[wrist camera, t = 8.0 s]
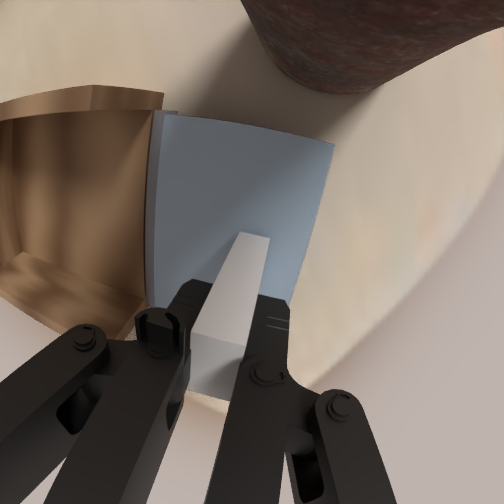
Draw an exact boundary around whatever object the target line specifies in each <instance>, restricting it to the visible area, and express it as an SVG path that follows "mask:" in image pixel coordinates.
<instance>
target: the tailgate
mask: <svg viewBox="0 0 504 504" xmlns="http://www.w3.org/2000/svg"><path fill="white" fill-rule="evenodd" d="M177 113H178V111H166V110H155V111H154V118H153V125H152V134H151V142H150V152H149V163H148V176H147V191H146V214H145V278H146V300H147V305H148V306H149V307H151V308H154V307H161V308H167V307H168V306H169V304H170V303H171V302H172V300H173V298H174V297H175V295H176V294H177V292H178V290H179V289H180V287H181V286H182V284H184V283H186V282H187V281H189V280H191V279H192V278H193V279H197V280H201V281H204V282H208V283H212V284H214V282H215V280H216V278H217V276H218V274H219V272H220V270H221V268H222V266H223V264H224V262H225V260H226V258H227V256H228V254H229V252H230V250H231V248H232V246H233V244H234V242H235V240H236V238H237V236H238V234H239V232H240V231H241V232H245V233H249V234H254V235H258V236H262V237H266V238H270V241H269V246H268V251H267V255H266V260H265V264H264V269H263V274H262V278H261V283H260V287H259V292H258V294H261V295H265V296H269V297H274V298H278V299H283V300H285V301H286V303H287V305H288V307H289V304H290V301H291V298H292V295H293V292H294V289H295V286H296V283H297V279H298V276H299V273H300V270H301V267H302V263H303V260H304V257H305V254H306V250H307V247H308V244H309V240H310V237H311V234H312V230H313V227H314V223H315V220H316V216H317V213H318V209H319V205H320V202H321V198H322V194H323V191H324V187H325V183H326V179H327V175H328V172H329V168H330V164H331V160H332V156H333V152H334V147H335V145H334V144H331V143H327V142H323V141H320V140H316V139H312V138H308V137H304V136H300V135H296V134H292V133H287V132H283V131H278V130H274V129H269V128H264V127H259V126H253V125H248V124H242V123H236V122H230V121H223V120H216V119H209V118H200V117H192V116H182V115H177Z"/></svg>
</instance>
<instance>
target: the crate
mask: <svg viewBox="0 0 504 504" xmlns="http://www.w3.org/2000/svg"><path fill="white" fill-rule="evenodd" d="M163 97H164V93H161V92H154V91H148V90H141V89H133V88H124V87H114V86H103V85H87V86H79V87H72V88H65V89H59V90H53V91H48V92H43V93H38V94H34V95H29V96H25V97H21V98H17V99H13V100H10V101H6V102H3V103H0V296H1V297H2V298H4V299H5V300H7V301H8V302H9V303H11V304H12V305H14V306H15V307H17V308H18V309H20V310H21V311H23V312H24V313H26V314H27V315H29V316H31V317H32V318H34V319H35V320H37V321H39V322H40V323H42V324H44V325H45V326H47V327H49V328H50V329H52V330H54V331H56V332H57V333H59V334H61V335H62V334H64V333H65V332H66V331H68V330H69V329H70V328H72V327H74V326H76V325H80V324H93V325H96V326H98V327H100V328H101V329H102V330H103V331H104V332H105V334H106V338H107V339H113V340H123V341H124V340H125V338H126V337H127V335H128V334H129V333H130V331H131V330H132V328H133V327H134V326H135V319H134V317H135V316H136V315H137V314H138V313H139V312H140V311H143V310H145V309H147V308H148V305H147V300H146V278H145V214H146V191H147V176H148V163H149V152H150V142H151V134H152V125H153V118H154V111H155V110H161V109H162V103H163Z"/></svg>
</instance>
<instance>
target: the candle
mask: <svg viewBox="0 0 504 504" xmlns="http://www.w3.org/2000/svg"><path fill="white" fill-rule="evenodd" d="M241 2H242V4H243V6H244V8H245V10H246V12H247V14H248V16H249V18H250V20H251V22H252V24H253V26H254V28H255V30H256V32H257V34H258V36H259V38H260V40H261V42H262V44H263V46H264V48H265V50H266V52H267V53H268V55H269V56H270V57H271V59H272V60H273V61H274V62H275V64H276V65H277V66H278V68H279V69H280V70H281V71H282V72H283V73H284V74H285V75H287V76H289V77H290V78H292V79H293V80H295V81H296V82H298V83H299V84H301V85H304V86H306V87H309V88H311V89H314V90H318V91H323V92H327V93H331V94H347V95H349V94H357V93H361V92H364V91H367V90H370V89H373V88H376V87H378V86H380V85H382V84H384V83H386V82H388V81H390V80H392V79H393V78H395V77H397V76H399V75H401V74H403V73H405V72H407V71H409V70H410V69H412V68H414V67H416V66H418V65H420V64H421V63H423V62H425V61H427V60H429V59H431V58H433V57H435V56H437V55H439V54H441V53H443V52H445V51H447V50H449V49H451V48H453V47H455V46H457V45H459V44H461V43H464V42H466V41H468V40H470V39H472V38H474V37H476V36H478V35H481V34H483V33H486V32H489V31H491V30H494V29H497V28H500V27H504V0H241Z"/></svg>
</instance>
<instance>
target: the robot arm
mask: <svg viewBox="0 0 504 504" xmlns="http://www.w3.org/2000/svg"><path fill="white" fill-rule="evenodd" d="M269 241H270V238H266V237H262V236H258V235H254V234H249V233H245V232H241V231H240V232H239V234H238V236H237V238H236V240H235V242H234V244H233V246H232V248H231V250H230V252H229V254H228V256H227V258H226V260H225V262H224V264H223V266H222V268H221V270H220V272H219V274H218V276H217V278H216V280H215V282H214V284H212V283H208V282H204V281H201V280H197V279H193V278H192V279H191V280H189V281H187V282H186V283H184V284H182V286H181V287H180V289H179V290H178V292H177V294H176V295H175V297H174V298H173V300H172V302H171V303H170V304H169V306H168V307H167V308H161V307H154V308H148V309H145V310H143V311H140V312H139V313H138V314H137V315H136V316H135V317H134V319H135V328H136V336H137V340H133V341H123V340H113V339H107V338H106V334H105V332H104V331H103V330H102V329H101V328H100V327H98V326H96V325H93V324H80V325H76V326H74V327H72V328H70V329H69V330H68V331H66V332H65V333H64V334H62V335H61V336H60V337H58V338H57V339H56V340H54V341H53V342H52V343H50V344H49V345H48V346H46V347H45V348H44V349H42V350H41V351H40V352H38V353H37V354H36V355H34V356H33V357H32V358H31V359H29V360H28V361H27V362H25V363H24V364H23V365H22V366H21V367H19V368H18V369H17V370H15V371H14V372H13V373H12V374H10V375H9V376H8V377H7V378H5V379H4V380H3V381H2V382H0V504H20V503H21V502H22V501H23V500H24V499H25V498H26V497H27V496H28V495H29V494H30V493H31V492H32V491H33V490H34V489H35V488H36V487H37V486H38V485H39V484H40V483H41V482H42V481H43V480H44V479H45V478H46V477H47V476H48V475H49V474H50V473H51V472H52V471H53V470H54V469H55V468H56V467H57V466H58V465H59V464H60V463H61V462H62V461H63V460H64V459H65V458H66V457H67V458H66V460H65V462H64V463H63V465H62V467H61V469H60V471H59V473H58V475H57V477H56V479H55V481H54V483H53V485H52V487H51V489H50V491H49V493H48V495H47V497H46V499H45V501H44V503H43V504H146V502H147V499H148V496H149V494H150V491H151V489H152V486H153V483H154V480H155V478H156V475H157V472H158V470H159V467H160V464H161V462H162V459H163V457H164V454H165V451H166V449H167V446H168V443H169V441H170V438H171V435H172V433H173V430H174V428H175V425H176V422H177V420H178V417H179V414H180V412H181V409H182V407H183V403H184V394H185V391H186V388H187V386H188V390H190V391H194V392H197V393H201V394H204V395H208V396H211V397H215V398H219V399H223V400H227V401H230V404H229V408H228V413H227V416H226V420H225V424H224V429H223V432H222V436H221V440H220V444H219V448H218V452H217V456H216V459H215V463H214V467H213V471H212V475H211V479H210V482H209V486H208V490H207V494H206V497H205V501H204V504H278V503H279V497H280V488H281V480H282V472H283V463H284V453H285V455H286V460H287V465H288V471H289V476H290V482H291V487H292V493H293V498H294V503H295V504H397V503H396V500H395V496H394V493H393V490H392V488H391V484H390V481H389V478H388V475H387V473H386V470H385V467H384V464H383V461H382V458H381V455H380V453H379V450H378V447H377V444H376V442H375V439H374V436H373V433H372V431H371V428H370V425H369V423H368V420H367V418H366V415H365V412H364V410H363V407H362V405H361V404H360V402H359V400H358V399H357V398H356V397H355V396H353V395H352V394H351V393H349V392H346V391H344V390H338V389H331V390H328V391H325V392H323V393H322V394H321V395H320V394H318V393H315V392H313V391H311V390H308V389H306V388H304V387H303V386H301V385H299V384H298V383H297V382H296V381H295V380H293V378H292V377H291V375H290V374H289V371H288V369H287V353H288V338H289V321H290V309H289V307H288V305H287V303H286V301H285V300H283V299H278V298H274V297H269V296H265V295H261V294H258V292H259V287H260V283H261V278H262V274H263V269H264V264H265V260H266V255H267V251H268V246H269ZM188 383H189V385H188Z"/></svg>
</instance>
